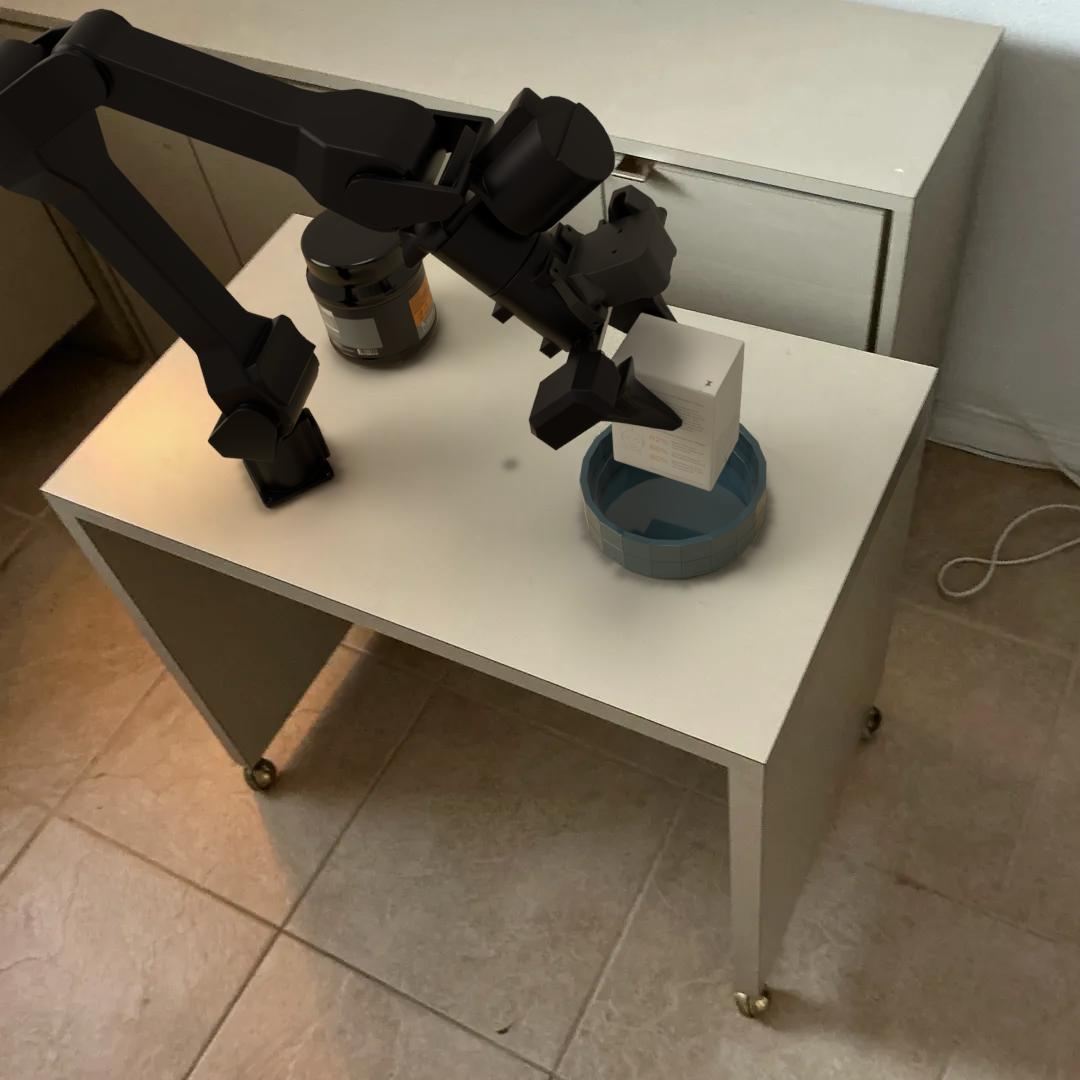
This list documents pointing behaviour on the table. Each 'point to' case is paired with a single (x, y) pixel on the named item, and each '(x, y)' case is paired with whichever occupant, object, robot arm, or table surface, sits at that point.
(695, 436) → the small box
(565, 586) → the table surface
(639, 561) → the bowl
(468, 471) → the table surface
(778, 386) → the table surface
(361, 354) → the supplement container
